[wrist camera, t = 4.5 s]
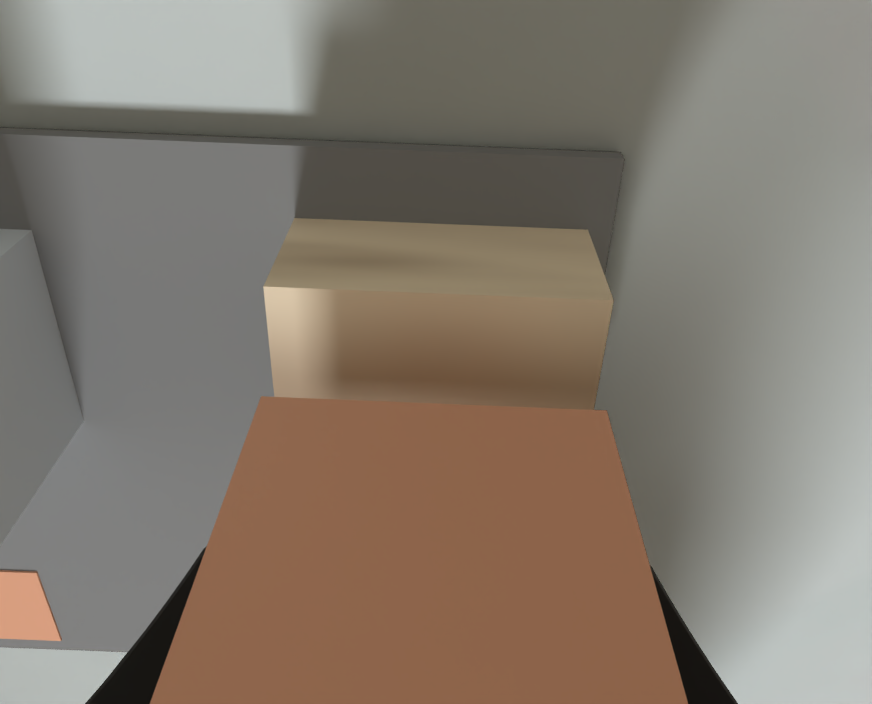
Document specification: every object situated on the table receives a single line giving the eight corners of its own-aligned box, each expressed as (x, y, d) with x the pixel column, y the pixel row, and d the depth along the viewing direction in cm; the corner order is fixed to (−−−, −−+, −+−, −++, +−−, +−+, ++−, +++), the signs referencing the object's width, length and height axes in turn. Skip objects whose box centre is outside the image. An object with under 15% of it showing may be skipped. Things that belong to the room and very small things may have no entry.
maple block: (553, 455, 19) (568, 547, 16) (310, 445, 19) (288, 535, 16) (587, 229, 16) (613, 300, 13) (294, 217, 16) (263, 286, 13)
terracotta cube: (563, 632, 14) (611, 972, 10) (286, 620, 14) (210, 956, 9) (606, 410, 11) (701, 749, 7) (260, 396, 11) (140, 728, 7)
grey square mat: (536, 656, 24) (537, 669, 23) (-41, 634, 24) (-50, 647, 23) (620, 152, 15) (625, 159, 15) (-288, 116, 15) (-307, 122, 15)
